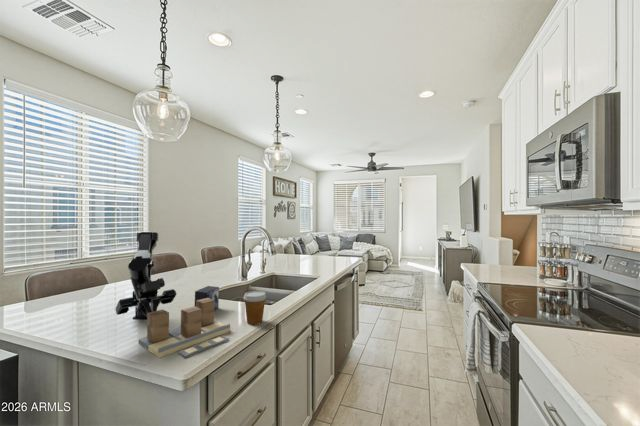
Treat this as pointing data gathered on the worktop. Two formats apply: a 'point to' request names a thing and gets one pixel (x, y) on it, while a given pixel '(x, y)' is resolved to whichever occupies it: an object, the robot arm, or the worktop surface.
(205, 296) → the small box
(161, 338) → the slider
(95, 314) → the worktop surface
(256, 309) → the disposable coffee cup
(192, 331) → the middle slider
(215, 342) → the card
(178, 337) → the board
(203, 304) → the slider
